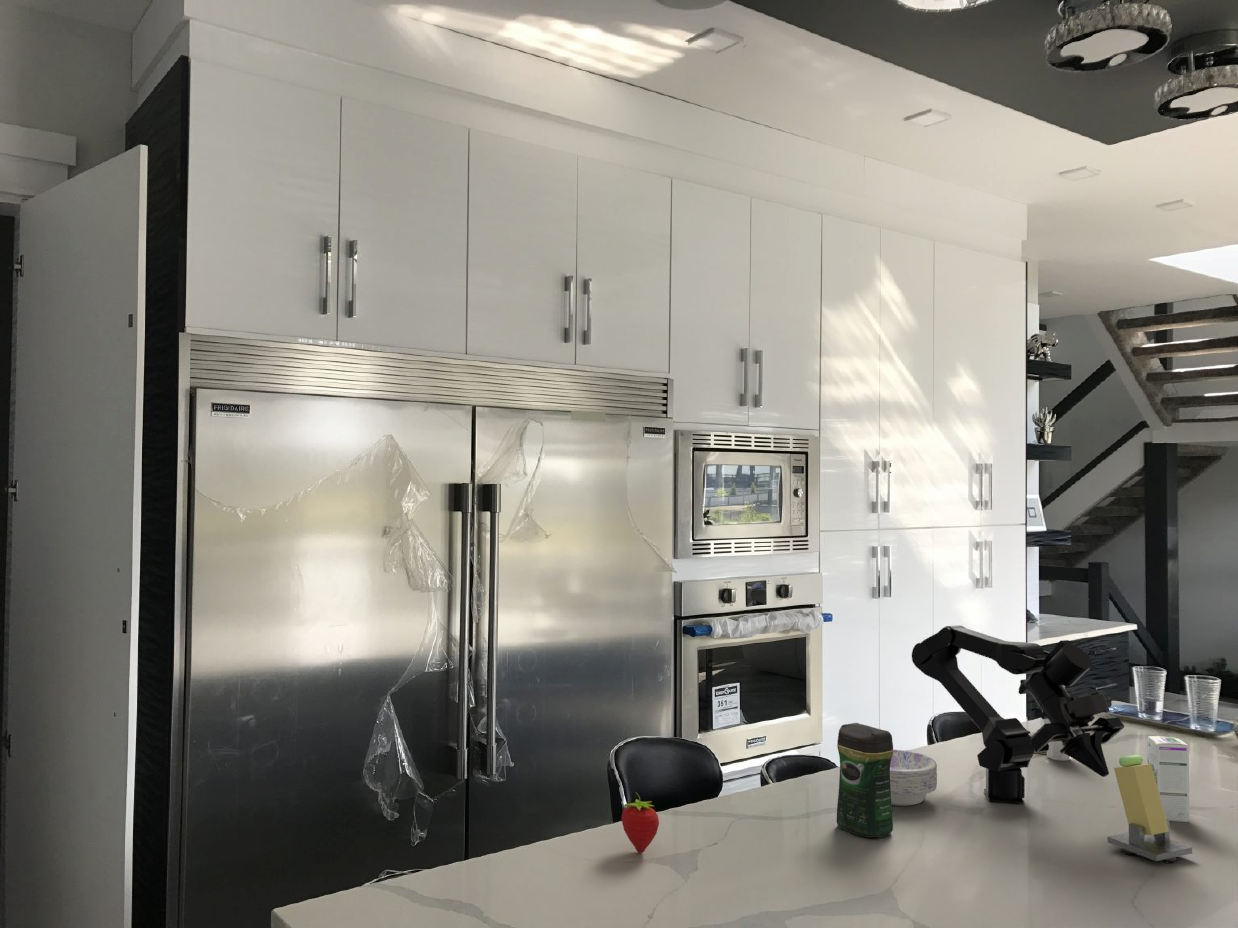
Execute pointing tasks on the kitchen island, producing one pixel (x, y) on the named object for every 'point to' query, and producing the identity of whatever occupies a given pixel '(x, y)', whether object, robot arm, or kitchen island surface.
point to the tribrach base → (1149, 844)
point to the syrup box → (1171, 775)
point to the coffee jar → (864, 780)
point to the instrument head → (1140, 795)
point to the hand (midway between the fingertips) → (1106, 775)
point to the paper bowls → (911, 777)
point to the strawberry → (640, 824)
